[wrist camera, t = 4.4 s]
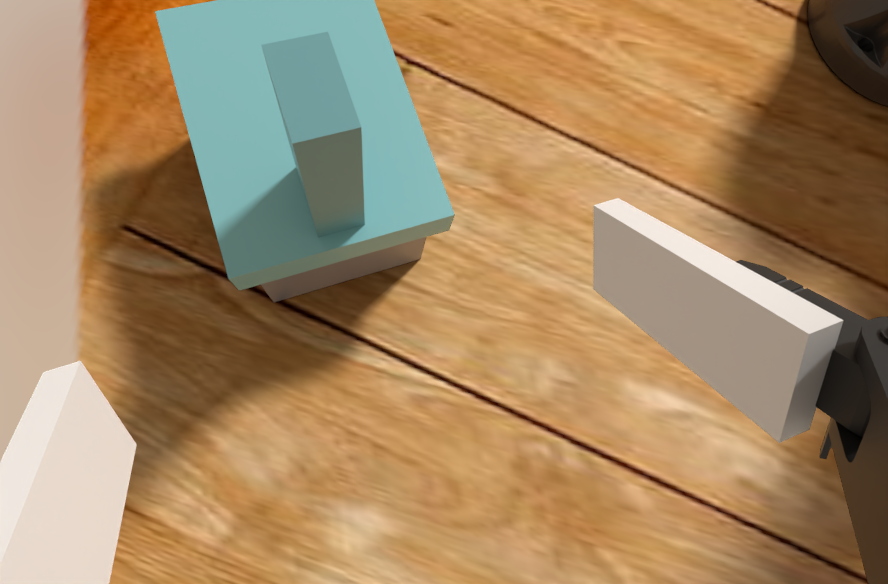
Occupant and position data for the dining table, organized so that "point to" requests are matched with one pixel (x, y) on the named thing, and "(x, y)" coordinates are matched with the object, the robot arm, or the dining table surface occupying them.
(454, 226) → the dining table surface
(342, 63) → the lid
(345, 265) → the tub
